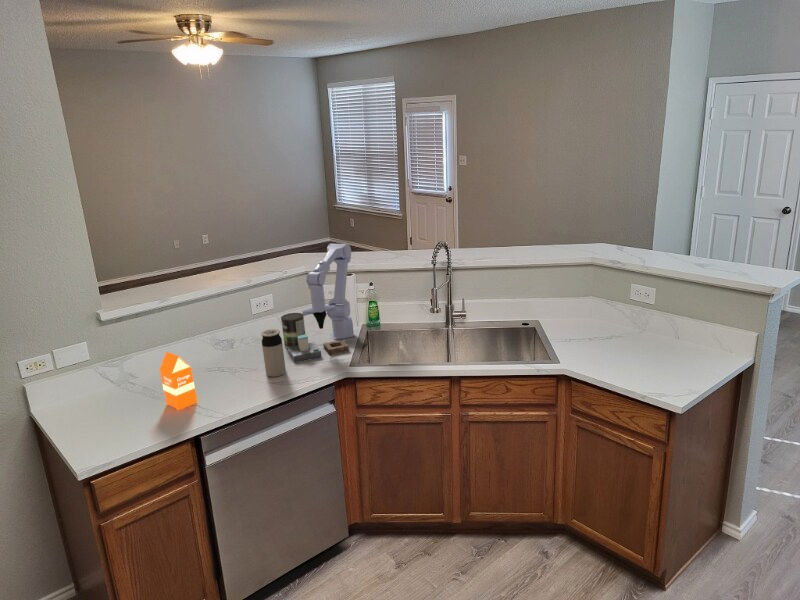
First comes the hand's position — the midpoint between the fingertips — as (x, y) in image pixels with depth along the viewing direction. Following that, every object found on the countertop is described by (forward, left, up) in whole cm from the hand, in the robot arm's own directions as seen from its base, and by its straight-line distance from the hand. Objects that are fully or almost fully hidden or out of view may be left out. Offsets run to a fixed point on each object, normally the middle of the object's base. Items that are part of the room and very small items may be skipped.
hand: (321, 328), depth 254 cm
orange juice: (+61, +25, -11) cm, 67 cm away
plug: (+9, +2, -10) cm, 14 cm away
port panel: (+9, +2, -10) cm, 14 cm away
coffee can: (+10, -13, -11) cm, 19 cm away
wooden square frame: (-5, +3, -10) cm, 12 cm away
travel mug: (+24, +15, -11) cm, 30 cm away
